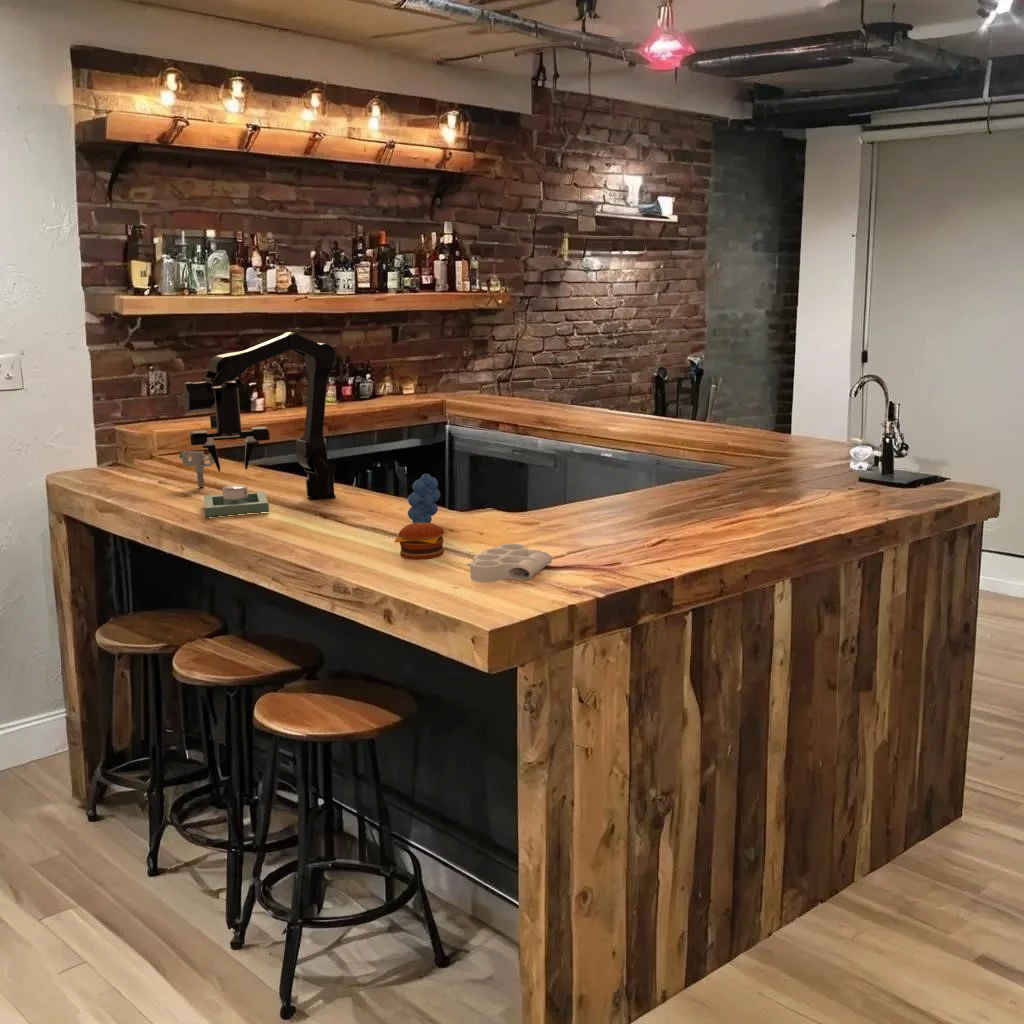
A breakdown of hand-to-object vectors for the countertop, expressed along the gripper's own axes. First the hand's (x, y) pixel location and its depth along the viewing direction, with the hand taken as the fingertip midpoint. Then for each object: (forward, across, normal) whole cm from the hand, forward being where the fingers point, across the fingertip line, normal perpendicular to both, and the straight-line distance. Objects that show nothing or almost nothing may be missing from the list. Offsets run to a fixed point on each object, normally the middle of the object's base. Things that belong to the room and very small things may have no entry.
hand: (232, 470), depth 279 cm
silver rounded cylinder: (+9, 0, 0) cm, 9 cm away
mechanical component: (+10, +8, -33) cm, 35 cm away
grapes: (+10, -40, +35) cm, 54 cm away
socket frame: (+10, 0, 0) cm, 10 cm away
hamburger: (+10, -35, +60) cm, 70 cm away
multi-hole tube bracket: (+11, -48, +78) cm, 92 cm away
